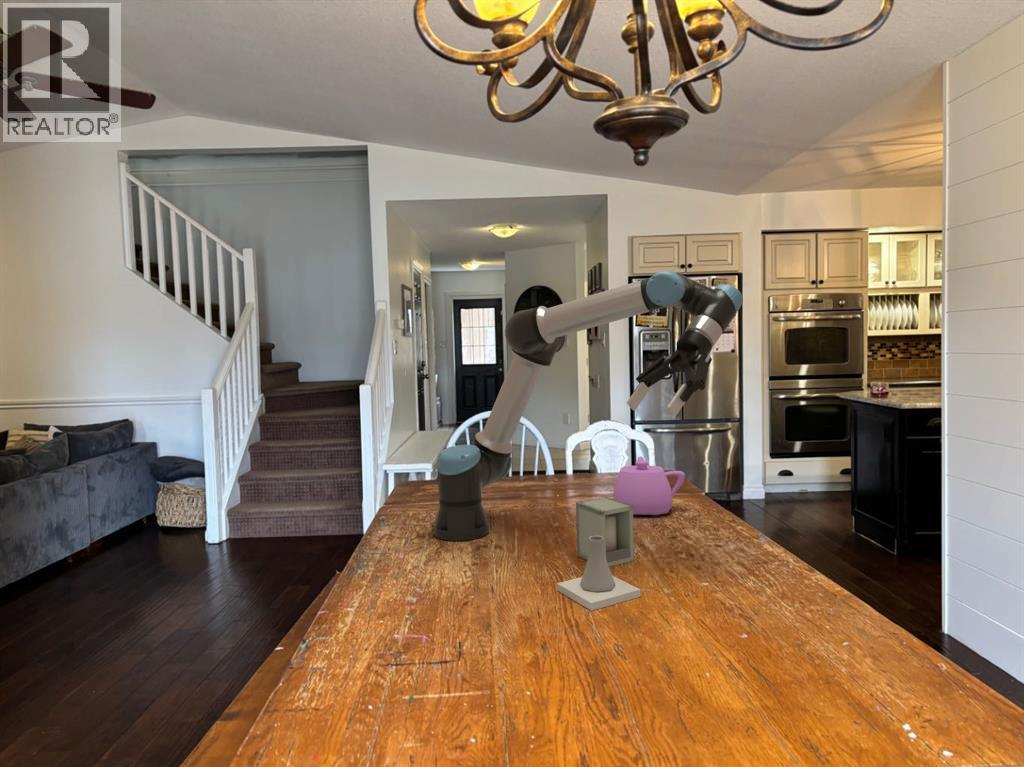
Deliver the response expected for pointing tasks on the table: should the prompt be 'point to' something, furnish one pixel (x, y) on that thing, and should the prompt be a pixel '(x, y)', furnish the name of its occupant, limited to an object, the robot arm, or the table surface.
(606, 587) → the flask
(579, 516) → the dispenser box
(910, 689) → the table surface
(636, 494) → the teapot
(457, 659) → the table surface
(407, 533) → the table surface
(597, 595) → the plate
